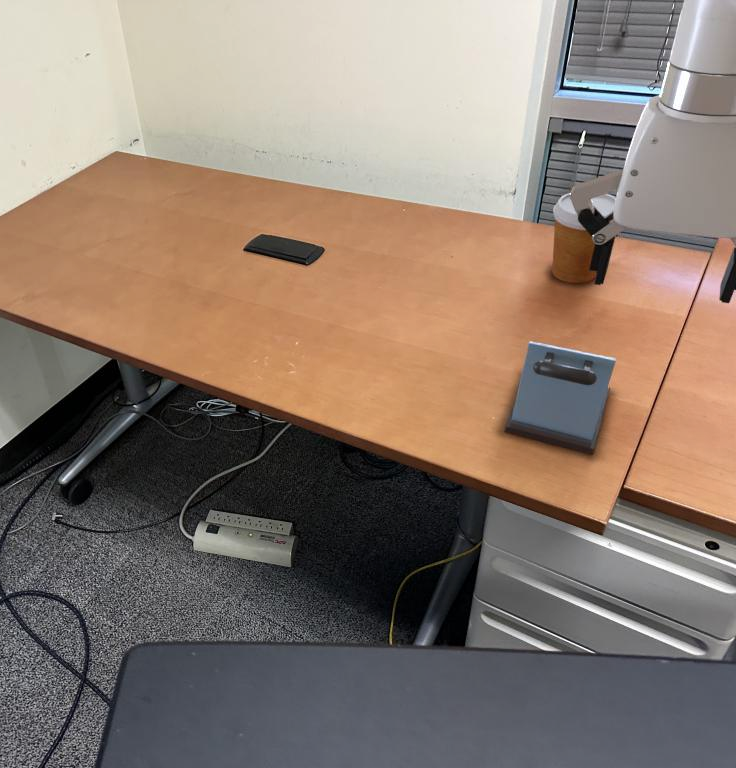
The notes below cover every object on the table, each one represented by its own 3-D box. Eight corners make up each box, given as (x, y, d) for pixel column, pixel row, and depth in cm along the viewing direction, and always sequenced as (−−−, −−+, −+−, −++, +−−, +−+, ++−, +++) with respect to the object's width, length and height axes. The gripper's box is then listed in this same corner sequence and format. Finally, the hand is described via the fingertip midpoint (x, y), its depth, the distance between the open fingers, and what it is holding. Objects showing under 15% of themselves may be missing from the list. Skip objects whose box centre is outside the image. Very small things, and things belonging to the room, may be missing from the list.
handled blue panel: (529, 340, 79) (521, 358, 76) (616, 358, 75) (611, 378, 72) (512, 418, 85) (503, 438, 82) (592, 438, 81) (586, 460, 78)
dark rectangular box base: (526, 375, 93) (528, 364, 92) (608, 393, 88) (611, 382, 87) (504, 431, 85) (506, 421, 84) (592, 455, 81) (595, 444, 80)
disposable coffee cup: (617, 268, 109) (637, 198, 101) (589, 295, 104) (607, 224, 97) (558, 252, 115) (573, 184, 107) (529, 276, 110) (542, 208, 103)
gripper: (866, 72, 49) (778, 280, 60) (598, 70, 57) (562, 253, 68) (878, 108, 44) (780, 326, 55) (583, 99, 52) (547, 291, 63)
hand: (660, 285), depth 61 cm, fingers open, 9 cm apart
